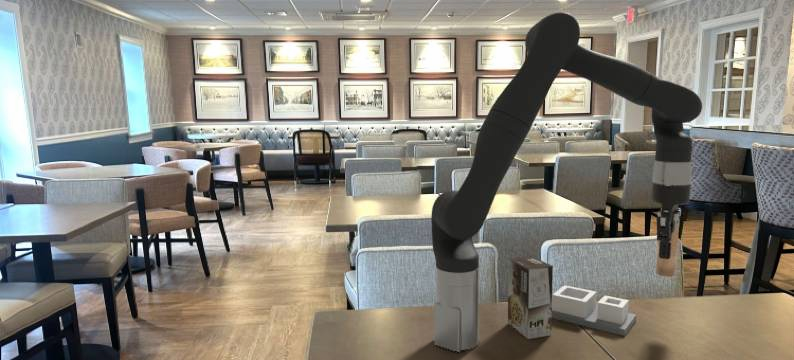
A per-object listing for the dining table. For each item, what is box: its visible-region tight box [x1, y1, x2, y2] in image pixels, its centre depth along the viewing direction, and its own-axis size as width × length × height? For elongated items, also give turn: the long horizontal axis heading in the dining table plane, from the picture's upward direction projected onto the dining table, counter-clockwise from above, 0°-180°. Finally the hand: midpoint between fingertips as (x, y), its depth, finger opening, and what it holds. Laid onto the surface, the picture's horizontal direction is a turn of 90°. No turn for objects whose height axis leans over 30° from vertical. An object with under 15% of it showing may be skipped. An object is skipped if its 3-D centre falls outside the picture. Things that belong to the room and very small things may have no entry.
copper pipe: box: [655, 222, 680, 277], centre depth 114 cm, size 4×4×12 cm
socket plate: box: [552, 284, 637, 337], centre depth 120 cm, size 10×17×6 cm, turn 52°
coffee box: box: [507, 255, 554, 340], centre depth 115 cm, size 9×6×16 cm
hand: (666, 255), depth 114 cm, fingers closed on copper pipe, 4 cm apart
